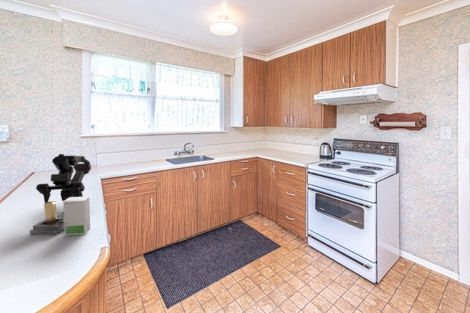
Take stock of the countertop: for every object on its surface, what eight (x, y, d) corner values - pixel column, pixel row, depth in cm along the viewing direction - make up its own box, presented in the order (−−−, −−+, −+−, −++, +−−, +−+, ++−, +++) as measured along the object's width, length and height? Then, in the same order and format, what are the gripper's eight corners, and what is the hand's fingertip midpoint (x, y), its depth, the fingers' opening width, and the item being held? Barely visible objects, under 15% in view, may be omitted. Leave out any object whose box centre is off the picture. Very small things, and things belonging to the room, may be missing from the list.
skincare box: (64, 236, 96) (61, 201, 94) (71, 229, 102) (68, 196, 100) (86, 234, 98) (83, 200, 96) (91, 227, 104) (89, 195, 102)
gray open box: (30, 234, 97) (29, 224, 96) (47, 225, 105) (46, 216, 105) (58, 235, 97) (57, 225, 96) (72, 225, 106) (71, 216, 105)
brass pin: (45, 230, 101) (42, 203, 99) (55, 227, 104) (53, 200, 102) (48, 233, 98) (46, 205, 97) (59, 229, 102) (57, 202, 100)
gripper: (35, 167, 106) (24, 197, 97) (81, 166, 112) (74, 193, 103) (45, 179, 115) (36, 207, 106) (87, 177, 120) (81, 204, 112)
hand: (57, 203), depth 106 cm, fingers open, 9 cm apart
